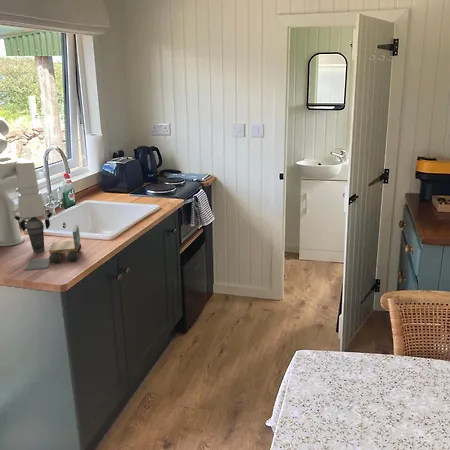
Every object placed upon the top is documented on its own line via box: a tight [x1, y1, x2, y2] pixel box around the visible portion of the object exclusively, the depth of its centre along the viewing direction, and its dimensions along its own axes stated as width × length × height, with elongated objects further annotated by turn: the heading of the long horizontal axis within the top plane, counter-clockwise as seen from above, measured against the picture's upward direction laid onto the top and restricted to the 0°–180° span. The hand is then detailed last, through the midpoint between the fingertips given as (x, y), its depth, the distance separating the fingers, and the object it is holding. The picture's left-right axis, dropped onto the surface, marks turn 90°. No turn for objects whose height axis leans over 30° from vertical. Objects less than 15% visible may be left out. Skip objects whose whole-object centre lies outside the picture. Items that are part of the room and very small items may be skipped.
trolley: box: [48, 224, 82, 265], centre depth 208 cm, size 12×13×12 cm
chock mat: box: [24, 257, 51, 271], centre depth 203 cm, size 9×10×1 cm
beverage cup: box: [25, 217, 45, 254], centre depth 215 cm, size 7×7×20 cm
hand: (36, 229), depth 214 cm, fingers open, 9 cm apart
